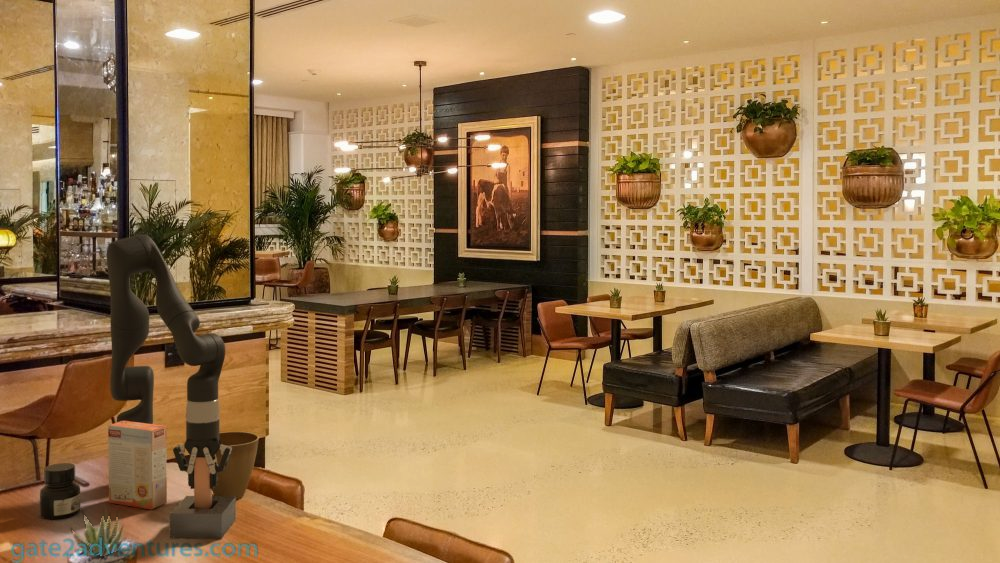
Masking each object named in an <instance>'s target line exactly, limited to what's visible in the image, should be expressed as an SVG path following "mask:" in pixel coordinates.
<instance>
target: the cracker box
mask: <svg viewBox="0 0 1000 563" xmlns="http://www.w3.org/2000/svg"><path fill="white" fill-rule="evenodd" d="M107 427H108V428H107V430H108V431H107V432H108V433H107V434H108V435H107V439H108V440H107V442H108V444H107V445H108V446H107V448H108V449H107V450H108V452H107V453H108V503H110V504H114V505H121V506H122V505H123V506H128V507H134V508H140V509H146V510H154V509H156V508H158V507H160V506H163V505H165V504H167V499H168V498H167V496H168V494H167V488H168V486H167V479H168V478H167V474H168V473H167V426H166V425H162V424H154V423H153V424H147V423H139V422H131V421H120V422H117V421H116V422H114V423H112V424H108V426H107Z"/></svg>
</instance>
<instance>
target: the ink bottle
mask: <svg viewBox="0 0 1000 563" xmlns="http://www.w3.org/2000/svg"><path fill="white" fill-rule="evenodd" d="M43 473H44V474H43V480H44V486H43V487H42V488H41V489H40V490H39V513H40V514H39V515H40V517H41V518H42V519H45V520H63V519H68V518H71V517H73V516H75V515H77V514H78V513H80V511H81V486H80V485H79V483H77V482H75V480H76V465H75V464H74V463H71V462H70V463H69V462H62V463H61V462H60V463H54V464H50V465H47V466H45V467H44V469H43Z"/></svg>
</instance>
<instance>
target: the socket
mask: <svg viewBox="0 0 1000 563" xmlns="http://www.w3.org/2000/svg"><path fill="white" fill-rule="evenodd" d="M236 504H237V503H236V496H214V495H212V509H194V495H186V496H184V498H183V499H182V500H181V501H179V503H178V504H177V505H176V506H175V507H174V508H173V509H172V510H171V512H169V539H187V540H189V539H193V540H194V539H197V540H198V539H200V540H201V539H202V540H205V539H207V540H209V539H211V540H212V539H213V540H215V539H216V540H219V539H223V538H224V537H225V535H226V534H227V532H228V531H229V529H231V527H232V526H233V525H234V523H235V521H236V516H237V515H236V514H237V512H236V511H237V510H236V509H237V508H236V506H237V505H236Z"/></svg>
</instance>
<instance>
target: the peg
mask: <svg viewBox="0 0 1000 563" xmlns="http://www.w3.org/2000/svg"><path fill="white" fill-rule="evenodd" d="M210 474H211V472H210V468H209V466H208V464H207V460H206V457H196V458H195V464H194V489H193V490H194V491H193V496H194V509H212V496H213V491H212V489H210Z"/></svg>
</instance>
